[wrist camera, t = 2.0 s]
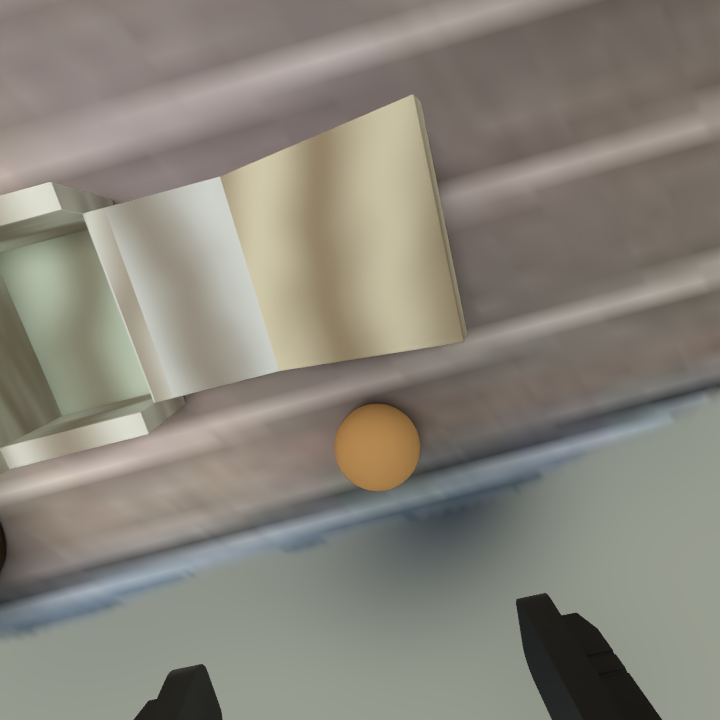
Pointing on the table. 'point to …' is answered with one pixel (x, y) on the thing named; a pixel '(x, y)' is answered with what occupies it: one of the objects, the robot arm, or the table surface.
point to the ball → (377, 447)
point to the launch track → (218, 283)
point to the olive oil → (1, 549)
